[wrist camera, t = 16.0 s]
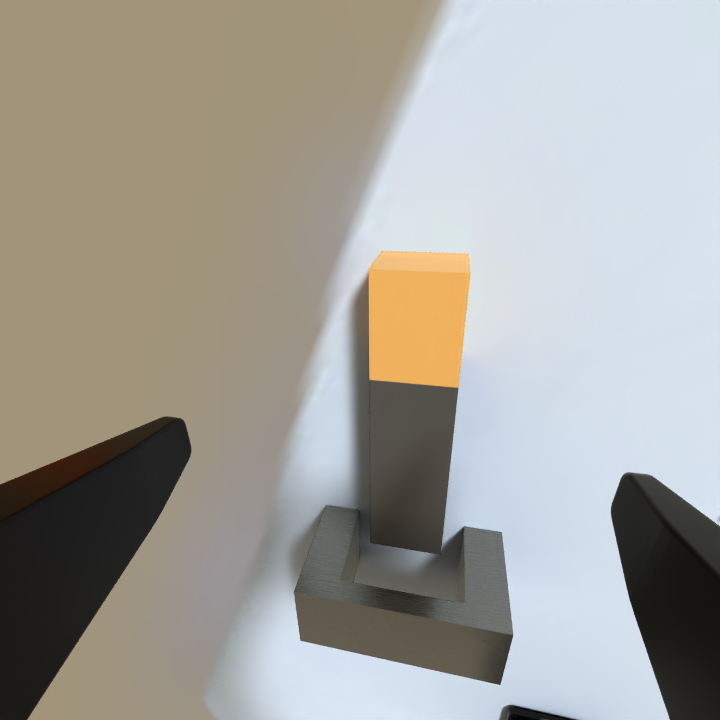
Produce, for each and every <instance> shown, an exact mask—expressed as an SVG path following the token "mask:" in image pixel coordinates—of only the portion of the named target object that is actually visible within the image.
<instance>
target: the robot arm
mask: <svg viewBox="0 0 720 720" xmlns="http://www.w3.org/2000/svg"><path fill="white" fill-rule="evenodd" d="M190 455H191V444H190V440H189V436H188V432H187V428H186V424H185V422H184V420H182V419H181V418H176V417H162V418H159V419H157V420H155V421H152V422H150V423H147V424H145V425H142V426H140V427H138V428H135V429H133V430H130V431H128V432H125V433H123V434H121V435H118V436H116V437H114V438H111V439H109V440H106V441H104V442H101V443H99V444H97V445H94V446H92V447H89V448H87V449H85V450H82V451H80V452H77V453H75V454H73V455H70V456H68V457H65V458H63V459H60V460H58V461H56V462H53V463H51V464H49V465H46V466H44V467H41V468H39V469H36V470H34V471H32V472H29V473H27V474H25V475H22V476H20V477H17V478H15V479H13V480H10V481H8V482H5V483H3V484H0V720H27V719H28V718H29V716H30V715H31V713H32V711H33V710H34V708H35V707H36V705H37V704H38V702H39V701H40V699H41V698H42V696H43V694H44V693H45V691H46V690H47V688H48V687H49V685H50V684H51V682H52V681H53V679H54V678H55V676H56V675H57V673H58V672H59V669H60V668H61V667H62V665H63V664H64V662H65V661H66V659H67V658H68V656H69V655H70V653H71V652H72V650H73V648H74V647H75V645H76V644H77V642H78V641H79V639H80V638H81V636H82V634H83V633H84V632H85V630H86V628H87V627H88V625H89V624H90V622H91V621H92V619H93V618H94V616H95V615H96V613H97V611H98V610H99V608H100V607H101V605H102V604H103V602H104V601H105V599H106V598H107V596H108V595H109V593H110V591H111V590H112V588H113V587H114V585H115V584H116V582H117V581H118V579H119V578H120V576H121V575H122V573H123V571H124V570H125V568H126V567H127V565H128V564H129V562H130V561H131V559H132V558H133V556H134V555H135V553H136V551H137V550H138V548H139V547H140V545H141V544H142V542H143V541H144V539H145V538H146V536H147V535H148V533H149V532H150V530H151V529H152V527H153V525H154V524H155V522H156V520H157V519H158V517H159V515H160V514H161V512H162V510H163V508H164V506H165V504H166V502H167V501H168V499H169V497H170V495H171V493H172V491H173V489H174V487H175V485H176V483H177V481H178V479H179V477H180V476H181V474H182V471H183V470H184V468H185V466H186V464H187V462H188V460H189V458H190ZM611 517H612V522H613V527H614V531H615V536H616V541H617V545H618V550H619V554H620V559H621V564H622V568H623V573H624V577H625V582H626V586H627V590H628V594H629V599H630V602H631V605H632V608H633V611H634V615H635V618H636V621H637V623H638V626H639V629H640V632H641V635H642V638H643V641H644V644H645V647H646V650H647V653H648V656H649V659H650V662H651V665H652V668H653V671H654V674H655V677H656V680H657V683H658V686H659V689H660V692H661V695H662V698H663V700H664V703H665V706H666V709H667V712H668V715H669V718H670V720H720V526H719V525H717V524H716V523H715V522H713V521H712V520H711V519H709V518H708V517H707V516H705V515H704V514H703V513H701V512H700V511H699V510H697V509H696V508H695V507H693V506H692V505H690V504H689V503H688V502H686V501H685V500H684V499H682V498H681V497H680V496H678V495H677V494H676V493H674V492H673V491H672V490H670V489H669V488H668V487H666V486H665V485H664V484H662V483H661V482H660V481H658V480H657V479H656V478H654V477H653V476H651V475H647V474H639V473H631V472H628V473H625V474H624V475H623V476H622V478H621V480H620V483H619V485H618V488H617V491H616V494H615V497H614V499H613V502H612V506H611ZM505 720H566V719H562V718H558V717H553V716H549V715H545V714H540V713H536V712H532V711H527V710H523V709H519V708H509V709H508V711H507V715H506V718H505Z"/></svg>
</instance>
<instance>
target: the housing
mask: <svg viewBox="0 0 720 720" xmlns="http://www.w3.org/2000/svg"><path fill="white" fill-rule="evenodd" d="M359 558H360V539H359V510H353V509H346V508H340V507H333V506H327V505H326V507H325V509H324V512H323V515H322V517H321V520H320V523H319V526H318V528H317V531H316V534H315V536H314V539H313V542H312V544H311V547H310V550H309V552H308V555H307V558H306V561H305V563H304V566H303V569H302V571H301V574H300V577H299V579H298V582H297V585H296V588H295V590H294V595H295V603H296V610H297V618H298V625H299V633H300V641H305V642H309V643H314V644H318V645H323V646H327V647H332V648H336V649H341V650H345V651H350V652H354V653H359V654H363V655H368V656H372V657H377V658H381V659H386V660H390V661H395V662H399V663H404V664H408V665H413V666H417V667H422V668H426V669H431V670H435V671H440V672H445V673H449V674H454V675H458V676H463V677H467V678H472V679H476V680H481V681H485V682H490V683H494V684H499V685H500V684H501V680H502V676H503V672H504V669H505V665H506V661H507V657H508V653H509V649H510V645H511V642H512V638H513V629H512V620H511V611H510V602H509V593H508V584H507V575H506V566H505V557H504V548H503V539H502V532H495V531H489V530H482V529H476V528H469V527H464V532H463V539H462V546H461V553H460V561H459V568H458V603H457V602H452V601H447V600H441V599H436V598H431V597H426V596H420V595H415V594H410V593H404V592H399V591H394V590H389V589H383V588H378V587H373V586H367V585H362V584H357V583H354V579H355V575H356V571H357V566H358V562H359Z"/></svg>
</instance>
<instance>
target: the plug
mask: <svg viewBox="0 0 720 720" xmlns="http://www.w3.org/2000/svg"><path fill="white" fill-rule="evenodd" d="M469 282H470V264H469V254H466V253H432V252H399V251H382V252H381V253H380V255H379V256H378V257H377V259H376V260H375V261H374V263H373V264H372V265H371V267H370V268H369V396H370V543H374V544H380V545H386V546H392V547H398V548H404V549H410V550H416V551H422V552H428V553H434V554H440V555H441V546H442V537H443V527H444V518H445V508H446V499H447V489H448V480H449V471H450V461H451V452H452V442H453V433H454V423H455V414H456V404H457V395H458V386H459V376H460V367H461V357H462V348H463V338H464V329H465V319H466V310H467V301H468V291H469Z"/></svg>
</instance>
